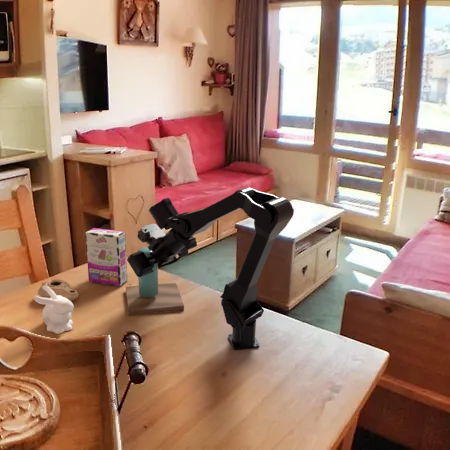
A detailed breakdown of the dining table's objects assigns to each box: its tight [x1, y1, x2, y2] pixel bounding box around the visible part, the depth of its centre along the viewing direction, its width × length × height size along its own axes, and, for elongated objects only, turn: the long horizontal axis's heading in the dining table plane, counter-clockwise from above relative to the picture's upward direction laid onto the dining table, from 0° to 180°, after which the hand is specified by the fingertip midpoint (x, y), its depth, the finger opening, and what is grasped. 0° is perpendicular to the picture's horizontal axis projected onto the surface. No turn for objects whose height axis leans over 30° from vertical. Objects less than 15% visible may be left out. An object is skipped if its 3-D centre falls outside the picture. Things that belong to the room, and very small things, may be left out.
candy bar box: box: [84, 227, 128, 287], centre depth 157 cm, size 11×5×16 cm, turn 73°
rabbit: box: [33, 286, 75, 335], centre depth 132 cm, size 12×9×12 cm
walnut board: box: [125, 282, 185, 316], centre depth 148 cm, size 15×15×2 cm
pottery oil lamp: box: [37, 278, 79, 301], centre depth 147 cm, size 9×12×7 cm
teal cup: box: [136, 246, 159, 297], centre depth 144 cm, size 6×6×13 cm
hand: (144, 270), depth 145 cm, fingers closed on teal cup, 5 cm apart
